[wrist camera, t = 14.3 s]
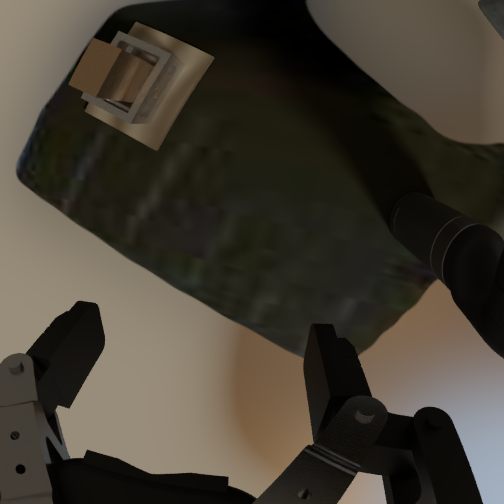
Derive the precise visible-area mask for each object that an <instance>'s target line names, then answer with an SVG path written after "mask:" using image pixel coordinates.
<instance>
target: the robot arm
mask: <svg viewBox="0 0 504 504" xmlns="http://www.w3.org/2000/svg"><path fill="white" fill-rule="evenodd" d="M389 224H390V229H391V232H392V234H393V236H394V238H395V239H396V240H397V241H399V242H400V243H401V244H402V245H403V246H404V247H405V248H406V249H407V250H408V251H409V252H411V253H412V254H413V255H414V256H415V257H416V258H417V259H418V260H419V261H420V262H421V263H422V264H423V265H425V266H426V267H427V268H428V269H429V270H430V271H431V272H432V273H433V274H434V275H435V276H436V277H437V278H438V279H439V280H440V281H441V282H442V283H443V284H445V286H446V287H447V288H448V289H449V290H450V291H451V295H452V298H453V300H454V302H455V303H456V305H457V306H458V307H459V309H460V310H461V311H462V312H463V314H464V315H465V316H466V318H467V319H468V320H469V321H470V323H471V324H472V325H473V327H474V328H475V329H476V331H477V332H478V333H479V335H480V336H481V337H482V338H483V340H484V341H485V342H486V343H487V344H488V345H489V346H490V348H491V349H492V350H494V351H495V352H496V353H497V354H498V355H500V356H501V357H502V358H504V241H503V239H502V237H501V236H500V235H499V234H498V233H497V232H495V231H494V230H492V229H491V228H489V227H487V226H485V225H483V224H482V223H480V222H478V221H476V220H474V219H473V218H470V217H469V216H467V215H465V214H463V213H461V212H459V211H457V210H455V209H453V208H451V207H449V206H448V205H446V204H444V203H442V202H440V201H438V200H436V199H434V198H432V197H430V196H427V195H425V194H423V193H421V192H410V193H407V194H405V195H403V196H402V197H401V198H400V199H398V200H397V202H396V203H395V204H394V206H393V208H392V210H391V214H390V221H389ZM104 345H105V335H104V330H103V326H102V321H101V316H100V311H99V307H98V305H97V304H96V303H92V302H85V301H77V302H76V303H75V305H74V306H73V307H72V308H71V309H70V310H69V311H66V312H65V313H63V314H61V315H59V316H58V317H57V318H55V319H54V321H53V322H52V323H51V324H50V327H47V329H46V330H45V331H44V333H42V334H41V336H40V337H39V338H38V339H37V340H36V342H35V343H34V344H33V345H32V346H31V348H30V349H29V350H28V351H27V352H26V354H22V353H17V354H13V355H10V356H8V357H7V358H5V359H4V360H3V361H2V363H1V364H0V504H337V503H338V501H339V500H340V499H341V497H342V496H343V494H344V493H345V491H346V490H347V488H348V487H349V485H350V484H351V482H352V481H353V479H354V478H355V476H356V475H357V473H358V472H364V473H370V474H376V475H382V478H383V484H384V490H385V495H386V501H387V504H483V502H482V499H481V496H480V493H479V490H478V487H477V484H476V481H475V478H474V475H473V472H472V470H471V467H470V464H469V461H468V459H467V456H466V454H465V451H464V448H463V446H462V444H461V441H460V438H459V436H458V434H457V431H456V429H455V426H454V424H453V421H452V419H451V418H450V417H449V415H448V414H447V413H446V412H444V411H443V410H441V409H439V408H436V407H424V408H422V409H420V410H418V411H417V412H416V414H415V415H414V417H409V416H403V415H397V414H392V413H389V412H387V409H386V407H385V406H384V405H383V403H381V402H380V401H379V400H377V399H375V398H373V397H372V395H371V392H370V389H369V386H368V383H367V380H366V378H365V375H364V372H363V369H362V367H361V364H360V361H359V359H358V355H357V353H356V350H355V347H354V346H353V345H352V344H351V343H350V342H349V341H348V340H347V339H346V338H337V335H336V332H335V329H334V326H333V325H332V324H312V325H311V327H310V331H309V336H308V341H307V346H306V351H305V356H304V365H303V367H304V368H303V369H304V378H305V385H306V391H307V398H308V405H309V412H310V420H311V426H312V434H313V442H314V444H313V445H308V446H306V447H305V448H304V449H303V450H302V451H301V453H300V454H299V455H298V456H297V457H296V458H295V460H293V462H292V463H291V464H290V465H289V466H288V467H287V468H286V469H285V470H284V472H283V473H282V474H281V475H280V476H279V477H278V478H277V479H276V480H275V481H274V482H273V483H272V484H271V485H270V486H269V488H267V489H266V491H265V492H263V494H261V495H260V497H259V498H255V497H254V496H252V495H250V494H248V493H246V492H245V491H242V490H240V489H237V488H234V487H231V486H228V477H225V476H213V475H205V474H197V473H178V474H150V473H147V472H145V471H143V470H141V469H138V468H136V467H134V466H132V465H130V464H128V463H126V462H124V461H122V460H120V459H118V458H114V457H111V456H107V455H103V454H100V453H97V452H93V451H90V450H87V451H86V453H85V456H84V458H72V459H71V458H70V456H69V454H68V452H67V448H66V445H65V442H64V438H63V434H62V431H61V427H60V423H59V419H58V415H57V413H56V411H55V410H56V408H57V406H58V405H59V406H63V407H66V408H70V406H71V405H72V403H73V401H74V399H75V397H76V396H77V394H78V392H79V390H80V389H81V387H82V385H83V383H84V382H85V380H86V378H87V376H88V374H89V373H90V371H91V370H92V368H93V366H94V364H95V363H96V361H97V359H98V358H99V356H100V354H101V353H102V351H103V349H104Z"/></svg>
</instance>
